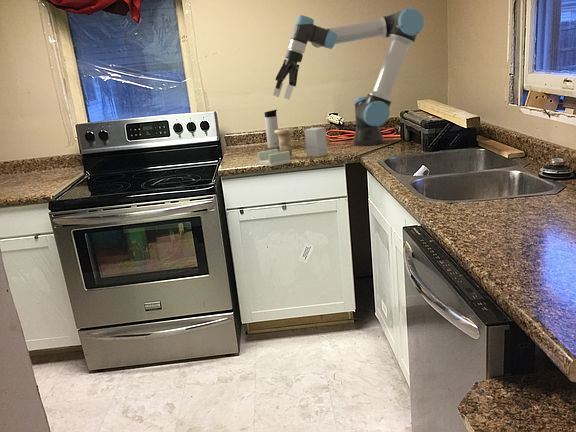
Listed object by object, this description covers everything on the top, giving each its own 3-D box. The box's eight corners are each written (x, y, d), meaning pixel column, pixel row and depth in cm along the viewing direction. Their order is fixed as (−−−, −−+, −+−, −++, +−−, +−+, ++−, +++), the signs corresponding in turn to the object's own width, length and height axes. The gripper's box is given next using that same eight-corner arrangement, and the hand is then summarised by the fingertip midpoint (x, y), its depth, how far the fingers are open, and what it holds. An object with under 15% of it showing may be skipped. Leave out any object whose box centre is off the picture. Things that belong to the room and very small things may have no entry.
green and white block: (277, 159, 242) (276, 148, 240) (290, 162, 232) (289, 151, 230) (258, 163, 237) (257, 152, 235) (270, 166, 227) (269, 155, 225)
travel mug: (278, 148, 270) (275, 110, 264) (266, 149, 271) (262, 111, 266) (281, 146, 276) (277, 108, 270) (269, 147, 277) (265, 109, 272)
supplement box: (328, 154, 243) (326, 127, 239) (318, 157, 238) (316, 129, 234) (315, 153, 248) (313, 127, 244) (305, 156, 243) (303, 129, 239)
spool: (289, 155, 250) (287, 128, 246) (299, 157, 242) (297, 129, 238) (273, 158, 246) (270, 130, 242) (283, 160, 238) (280, 132, 234)
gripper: (297, 53, 246) (283, 97, 251) (278, 44, 223) (263, 92, 228) (311, 58, 244) (297, 102, 249) (293, 49, 220) (278, 97, 226)
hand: (281, 97), depth 238 cm, fingers open, 13 cm apart
